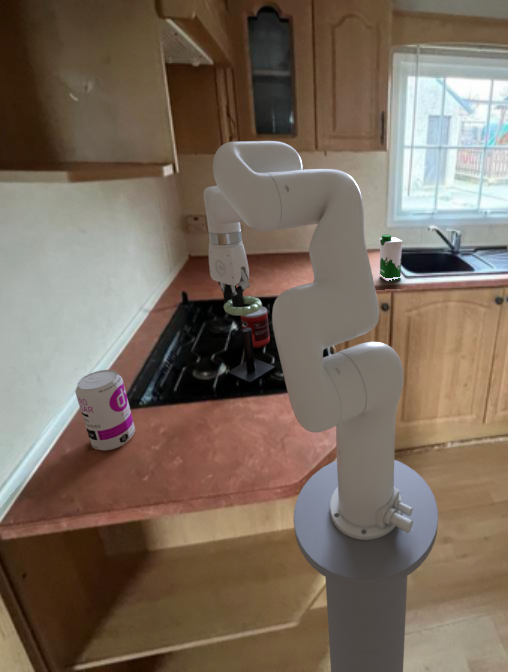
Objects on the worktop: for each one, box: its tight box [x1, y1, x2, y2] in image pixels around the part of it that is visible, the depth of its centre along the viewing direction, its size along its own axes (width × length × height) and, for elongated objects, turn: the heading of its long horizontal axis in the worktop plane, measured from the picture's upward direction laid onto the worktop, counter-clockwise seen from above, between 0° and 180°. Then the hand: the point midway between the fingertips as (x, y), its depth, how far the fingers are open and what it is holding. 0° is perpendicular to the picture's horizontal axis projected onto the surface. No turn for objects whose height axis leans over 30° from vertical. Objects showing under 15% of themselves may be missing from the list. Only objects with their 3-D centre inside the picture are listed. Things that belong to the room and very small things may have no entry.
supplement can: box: [75, 369, 136, 451], centre depth 85 cm, size 8×8×15 cm
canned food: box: [240, 305, 271, 349], centre depth 127 cm, size 8×8×11 cm
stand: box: [226, 328, 276, 387], centre depth 110 cm, size 9×9×13 cm
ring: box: [223, 295, 263, 317], centre depth 105 cm, size 9×9×2 cm
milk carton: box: [378, 234, 403, 282], centre depth 181 cm, size 9×9×20 cm
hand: (234, 305), depth 107 cm, fingers closed on ring, 2 cm apart
